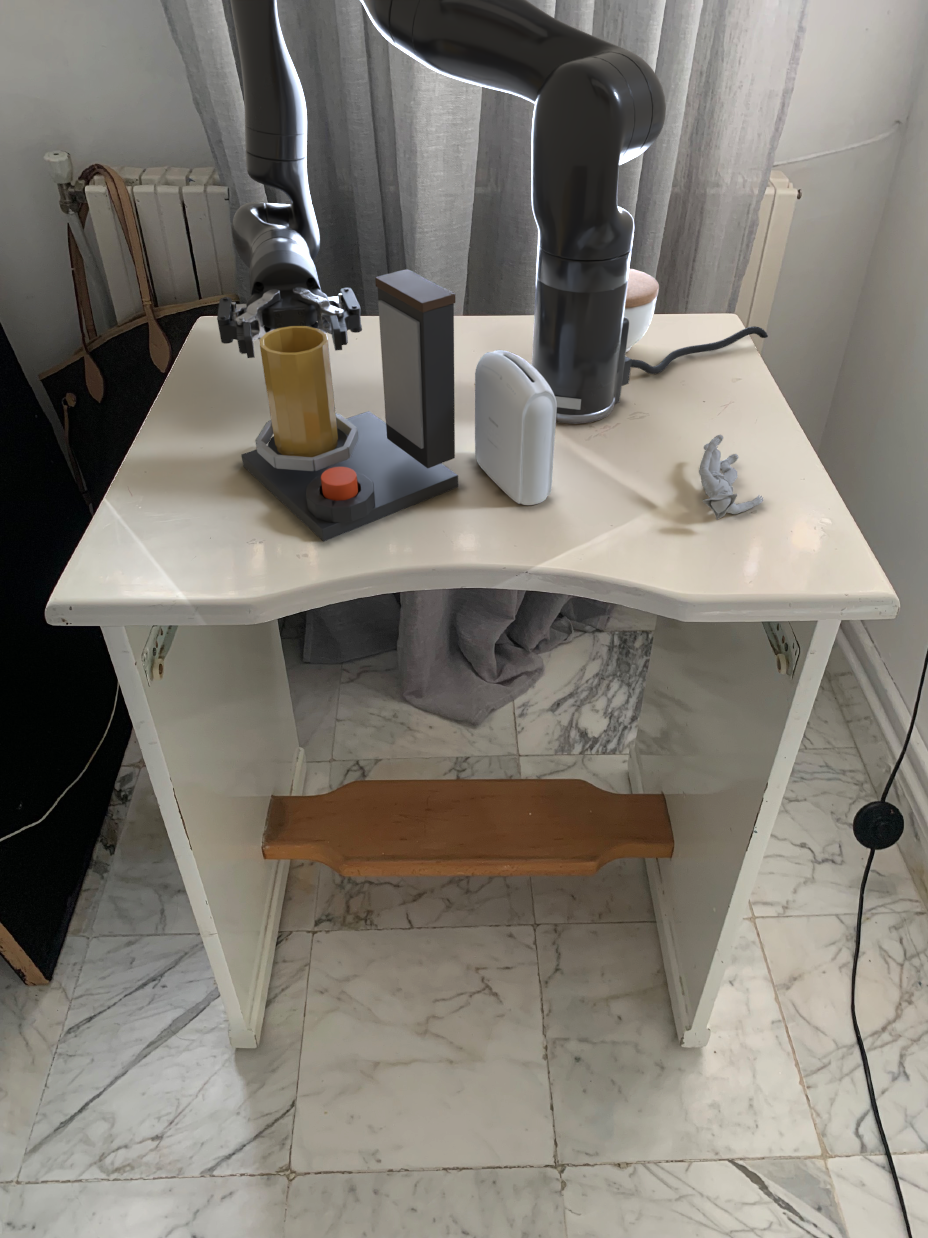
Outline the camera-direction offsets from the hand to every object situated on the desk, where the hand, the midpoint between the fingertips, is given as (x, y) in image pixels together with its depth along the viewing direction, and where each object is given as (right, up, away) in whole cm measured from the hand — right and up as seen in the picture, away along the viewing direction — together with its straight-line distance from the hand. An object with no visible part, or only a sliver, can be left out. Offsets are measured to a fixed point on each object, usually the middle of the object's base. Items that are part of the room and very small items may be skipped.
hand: (294, 344), depth 87 cm
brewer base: (+5, -13, +1) cm, 14 cm away
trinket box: (+34, +7, +24) cm, 43 cm away
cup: (+1, -10, 0) cm, 10 cm away
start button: (+5, -15, -5) cm, 17 cm away
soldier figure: (+41, -15, -1) cm, 43 cm away
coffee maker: (+5, -10, 0) cm, 12 cm away
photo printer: (+21, -13, +1) cm, 25 cm away
